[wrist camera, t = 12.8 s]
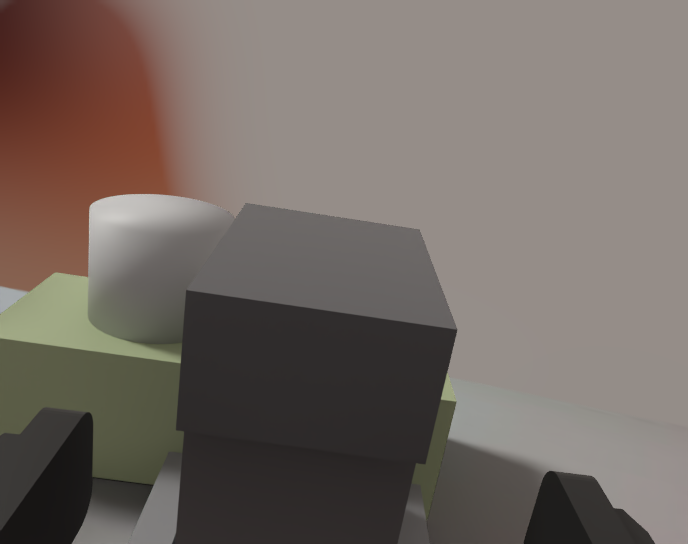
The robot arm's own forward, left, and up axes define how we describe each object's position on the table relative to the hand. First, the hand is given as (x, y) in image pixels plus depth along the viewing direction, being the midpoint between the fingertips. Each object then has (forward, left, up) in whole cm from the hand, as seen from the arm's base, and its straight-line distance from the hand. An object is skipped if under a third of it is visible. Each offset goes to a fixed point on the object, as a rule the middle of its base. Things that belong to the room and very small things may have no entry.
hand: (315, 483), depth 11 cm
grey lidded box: (0, +5, -8) cm, 10 cm away
